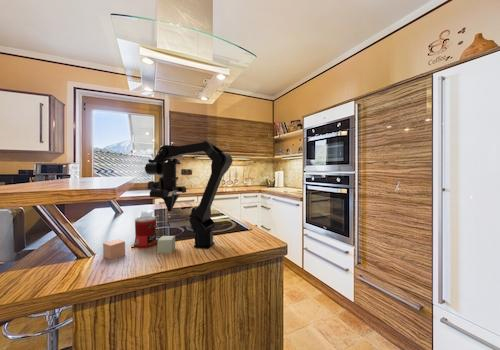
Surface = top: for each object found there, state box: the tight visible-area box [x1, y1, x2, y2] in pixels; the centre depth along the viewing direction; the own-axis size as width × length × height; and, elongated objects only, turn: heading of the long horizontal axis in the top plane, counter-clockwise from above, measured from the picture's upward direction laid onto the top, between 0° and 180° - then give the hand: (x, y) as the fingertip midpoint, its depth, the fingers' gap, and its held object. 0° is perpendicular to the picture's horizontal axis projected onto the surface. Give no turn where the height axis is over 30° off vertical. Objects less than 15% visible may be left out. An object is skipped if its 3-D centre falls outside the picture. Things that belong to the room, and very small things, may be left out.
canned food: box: [134, 215, 157, 249], centre depth 90 cm, size 8×8×11 cm
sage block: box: [157, 235, 176, 254], centre depth 83 cm, size 5×5×5 cm
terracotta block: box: [102, 238, 126, 261], centre depth 79 cm, size 5×5×5 cm
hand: (169, 211), depth 93 cm, fingers closed
